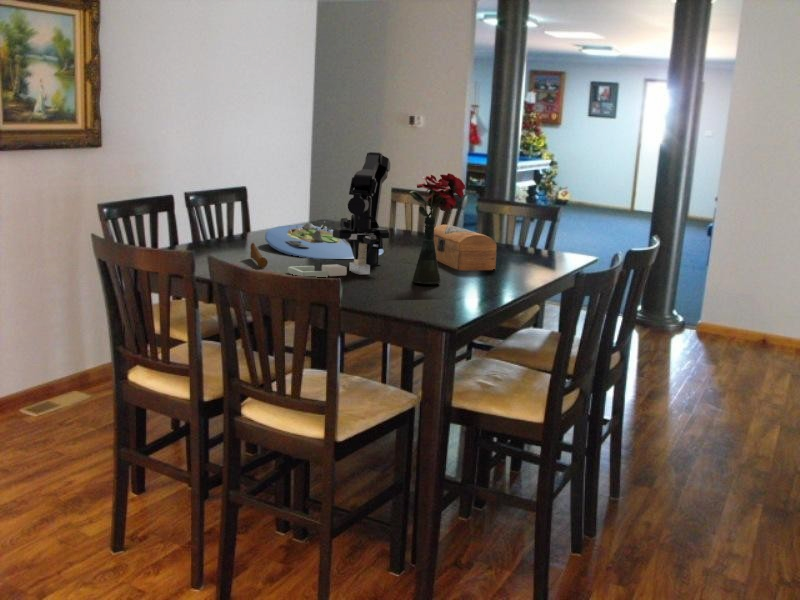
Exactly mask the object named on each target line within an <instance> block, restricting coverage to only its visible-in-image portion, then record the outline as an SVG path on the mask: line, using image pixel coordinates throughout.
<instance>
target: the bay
mask: <svg viewBox="0 0 800 600" xmlns="http://www.w3.org/2000/svg"><path fill="white" fill-rule="evenodd" d="M287 273H288V274H290V275H292V274H293V276H295V275H301V276H316V277H326V278H329V277H328V276H329V275H328V271H322V270H315V265H303V266H302V265H301V266H300V265H299V266H294V265H293V266H288V267H287Z"/></svg>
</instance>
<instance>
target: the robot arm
mask: <svg viewBox="0 0 800 600" xmlns="http://www.w3.org/2000/svg"><path fill="white" fill-rule="evenodd" d="M364 159H365V160H364V164H363V166H362V168H361V169H360V170H358V171H356V172H355V173H354V175H353V176H352V177H351V180H350V187H349V191H348V195H351V196H353V197H351V198H350V199H349V200H348V202H347V209H348V212H350V214H351V216H350V219H348V217H341V218H340V221H339V222H340V224H339V225H340V227H339V228H334V229H333V230H334V231H333V237H335V238H339V239H345V240H347V241H348V242H349V244H350V246H351V249H352V252H353V256H354V259H356V260H357V257H358V249H359V242H363V243H367V254H366V264H368V265H370V267H381V264H380V263H379V258H380V255H379V249H383V250H384V239H390V231H389V229H386V228H381V227H380V226H379V223H378V218H379V210H380V202H381V195H382V187H383V183H384V182H385V181H386V180H387V179H388V174H389V172H390V171H391V161H390V158H388V157H387V156H385V155H383V153H382V152H376V151H369V152H367V153H366V156H365V158H364ZM354 259H353V260H354Z"/></svg>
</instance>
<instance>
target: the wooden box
mask: <svg viewBox="0 0 800 600" xmlns="http://www.w3.org/2000/svg"><path fill="white" fill-rule="evenodd" d="M434 244H435V251H436V259H437V262H439V263H441V264H442V265H445V266H448V267H450V268H451V269H454V270H457V271H463V272H464V271H494V270H493V269H495V270H496V265H497V246H498V245H497V243H496V241H495V240H494V239H493V238H491V237H490V236H487V235H486V234H483V233H478V232H475V231H473V230H470V229H466V228H463V227H458V226H455V225H450V224H441V225H440V224H439V225H437V226H434Z"/></svg>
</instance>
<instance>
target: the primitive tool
mask: <svg viewBox="0 0 800 600" xmlns="http://www.w3.org/2000/svg"><path fill="white" fill-rule="evenodd" d="M250 258H251V259H253V260H254V261H255V262H256V264H257V266H258V267H259V268H262V269H265V268H266V267H267V266H268V263H269V262H268V259H267V258H266V257H263V255H262V254H261V253H260V252H259V249H258V248H257V246H256V244H255V243H254V242H251V244H250Z"/></svg>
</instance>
